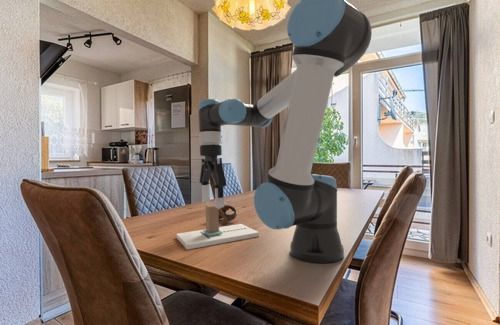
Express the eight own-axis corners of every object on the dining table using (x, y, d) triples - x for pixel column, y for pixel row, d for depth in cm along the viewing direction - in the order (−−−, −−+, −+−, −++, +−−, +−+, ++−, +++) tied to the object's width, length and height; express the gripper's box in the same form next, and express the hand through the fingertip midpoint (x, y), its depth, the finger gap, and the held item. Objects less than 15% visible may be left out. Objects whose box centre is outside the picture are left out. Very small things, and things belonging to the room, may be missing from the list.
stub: (222, 233, 92) (221, 206, 92) (208, 235, 90) (208, 207, 90) (216, 229, 98) (215, 203, 98) (203, 231, 95) (202, 205, 95)
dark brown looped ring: (234, 219, 124) (238, 205, 120) (232, 233, 116) (237, 219, 112) (209, 213, 123) (212, 199, 119) (205, 227, 114) (209, 212, 111)
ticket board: (259, 236, 95) (258, 231, 95) (187, 249, 83) (187, 244, 83) (241, 227, 107) (241, 223, 107) (176, 237, 95) (176, 233, 95)
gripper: (235, 142, 84) (237, 208, 84) (208, 146, 106) (210, 199, 106) (213, 141, 80) (215, 211, 81) (190, 146, 102) (192, 201, 103)
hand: (212, 204), depth 93 cm, fingers open, 13 cm apart
